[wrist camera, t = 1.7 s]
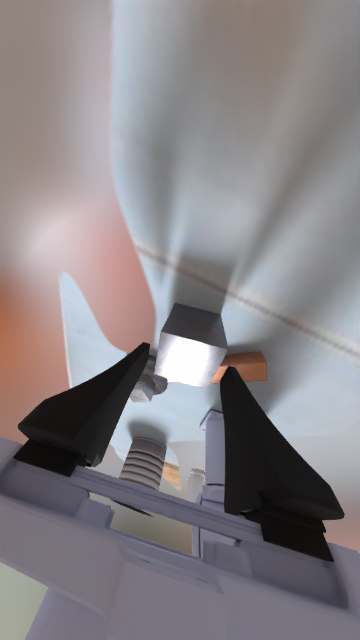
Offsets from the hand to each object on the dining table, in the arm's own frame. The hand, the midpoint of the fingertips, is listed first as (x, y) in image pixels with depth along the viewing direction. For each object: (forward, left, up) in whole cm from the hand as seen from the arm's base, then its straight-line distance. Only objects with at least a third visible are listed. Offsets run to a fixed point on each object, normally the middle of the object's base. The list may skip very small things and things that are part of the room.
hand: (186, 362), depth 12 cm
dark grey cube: (0, 0, -6) cm, 6 cm away
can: (+2, +47, -6) cm, 48 cm away
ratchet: (-1, +8, -6) cm, 10 cm away
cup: (-17, +56, -6) cm, 59 cm away
